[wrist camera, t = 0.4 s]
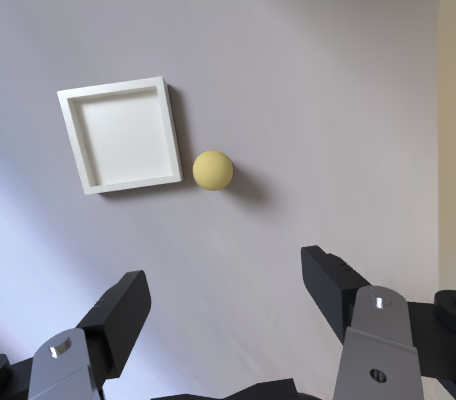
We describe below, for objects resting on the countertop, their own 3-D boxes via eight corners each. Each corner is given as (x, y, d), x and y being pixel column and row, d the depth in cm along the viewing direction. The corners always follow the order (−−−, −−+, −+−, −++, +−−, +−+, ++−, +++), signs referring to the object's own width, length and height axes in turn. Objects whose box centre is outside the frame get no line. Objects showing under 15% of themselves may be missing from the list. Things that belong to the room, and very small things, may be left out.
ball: (192, 153, 29) (186, 152, 24) (229, 148, 29) (231, 146, 24) (198, 190, 30) (194, 196, 25) (234, 185, 30) (236, 190, 25)
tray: (70, 96, 31) (57, 91, 28) (166, 83, 31) (162, 76, 28) (95, 192, 33) (85, 194, 31) (183, 179, 33) (181, 181, 31)
